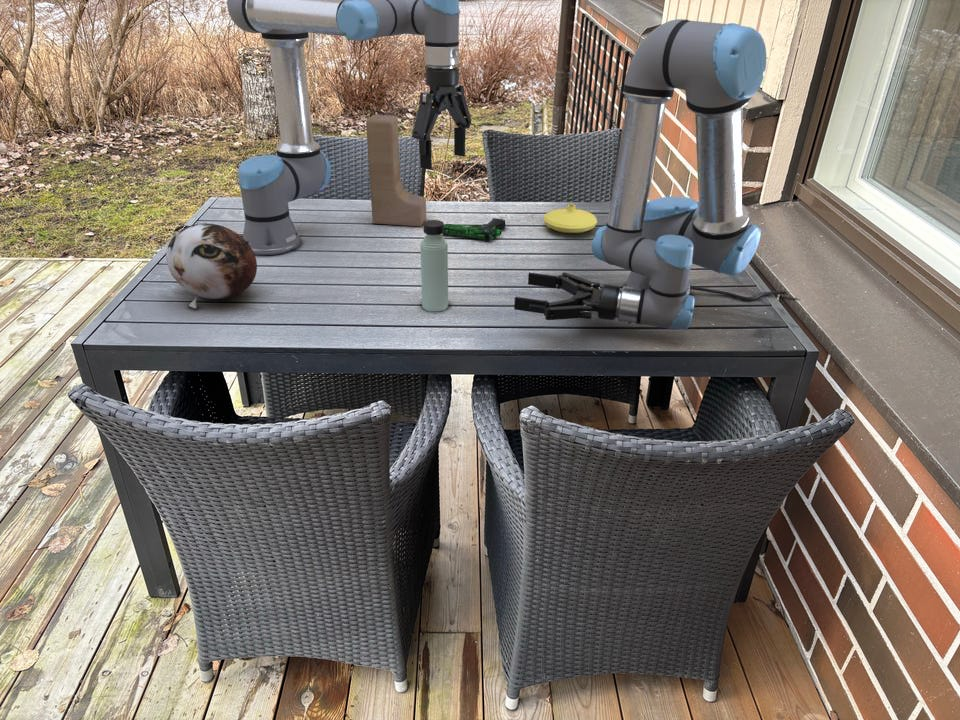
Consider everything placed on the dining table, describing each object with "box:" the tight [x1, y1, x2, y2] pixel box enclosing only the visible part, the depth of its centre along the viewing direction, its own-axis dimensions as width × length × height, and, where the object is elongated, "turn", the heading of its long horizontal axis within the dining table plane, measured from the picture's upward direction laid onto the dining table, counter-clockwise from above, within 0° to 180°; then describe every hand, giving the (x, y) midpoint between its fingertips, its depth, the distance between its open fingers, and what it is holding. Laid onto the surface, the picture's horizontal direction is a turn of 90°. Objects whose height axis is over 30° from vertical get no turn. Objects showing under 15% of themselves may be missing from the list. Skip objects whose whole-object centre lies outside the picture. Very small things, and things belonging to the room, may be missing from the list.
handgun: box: [441, 217, 506, 242], centre depth 207 cm, size 16×3×15 cm
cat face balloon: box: [165, 222, 258, 309], centre depth 165 cm, size 22×18×20 cm
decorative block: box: [365, 114, 427, 227], centre depth 207 cm, size 8×15×30 cm, turn 82°
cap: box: [422, 219, 445, 235], centre depth 157 cm, size 4×4×2 cm
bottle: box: [419, 234, 449, 312], centre depth 161 cm, size 6×6×20 cm
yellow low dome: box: [543, 203, 598, 234], centre depth 209 cm, size 16×16×7 cm
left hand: (443, 161), depth 169 cm, fingers open, 13 cm apart
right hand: (521, 290), depth 158 cm, fingers open, 13 cm apart
